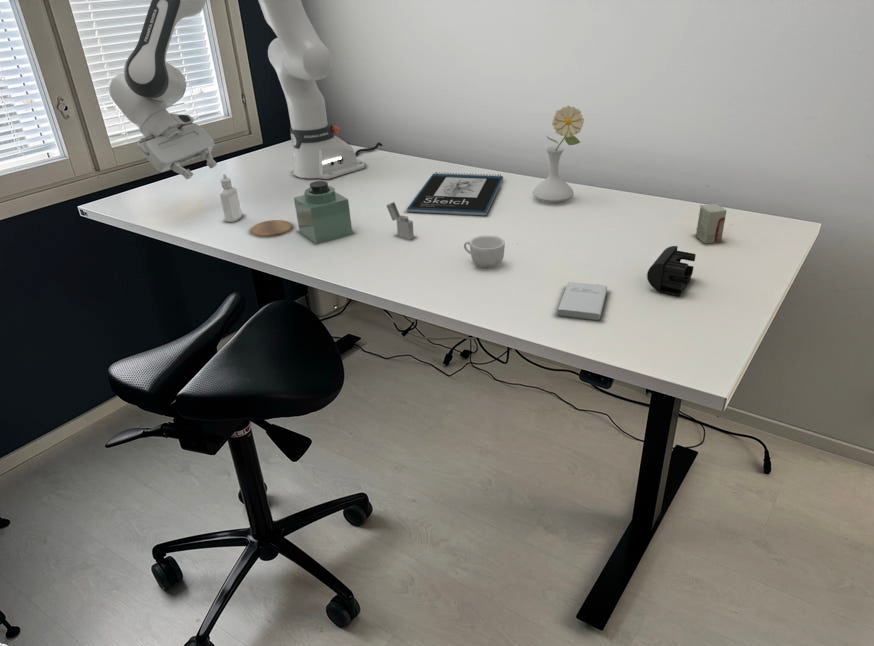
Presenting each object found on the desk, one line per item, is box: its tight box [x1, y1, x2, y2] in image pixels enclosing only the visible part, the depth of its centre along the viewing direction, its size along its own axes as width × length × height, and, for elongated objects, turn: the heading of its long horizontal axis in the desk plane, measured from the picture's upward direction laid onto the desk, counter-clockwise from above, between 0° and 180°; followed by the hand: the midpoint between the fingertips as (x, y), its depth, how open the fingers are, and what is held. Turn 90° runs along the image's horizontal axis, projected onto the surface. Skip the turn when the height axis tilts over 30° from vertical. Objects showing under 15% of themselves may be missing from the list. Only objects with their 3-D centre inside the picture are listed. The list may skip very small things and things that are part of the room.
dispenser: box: [293, 185, 353, 244], centre depth 169 cm, size 10×10×11 cm
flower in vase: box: [532, 105, 585, 203], centre depth 181 cm, size 13×11×25 cm
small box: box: [695, 203, 728, 244], centre depth 159 cm, size 5×4×8 cm
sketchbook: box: [407, 171, 504, 217], centre depth 192 cm, size 22×30×2 cm
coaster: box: [251, 219, 292, 238], centre depth 174 cm, size 10×10×1 cm
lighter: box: [386, 201, 415, 240], centre depth 166 cm, size 7×2×8 cm, turn 51°
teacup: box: [463, 235, 506, 269], centre depth 152 cm, size 10×8×5 cm
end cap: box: [646, 245, 697, 297], centre depth 140 cm, size 10×7×7 cm
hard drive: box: [557, 281, 608, 321], centre depth 136 cm, size 2×8×12 cm
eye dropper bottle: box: [219, 173, 243, 223], centre depth 178 cm, size 4×6×12 cm
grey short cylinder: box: [309, 180, 329, 194], centre depth 165 cm, size 4×4×2 cm
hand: (202, 171), depth 177 cm, fingers open, 8 cm apart
